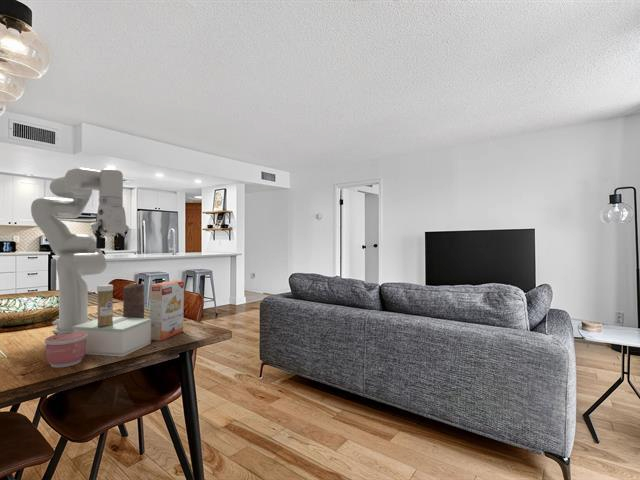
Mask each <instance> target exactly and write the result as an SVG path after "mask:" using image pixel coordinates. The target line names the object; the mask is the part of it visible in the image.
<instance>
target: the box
mask: <svg viewBox="0 0 640 480" xmlns="http://www.w3.org/2000/svg"><path fill="white" fill-rule="evenodd" d="M74 332H83V333H86V334H87V338H86V353H85V355H96V356H107V357H121V358H122V357H125V356H127V355H129V354H131V353H133V352H136V351H137V350H140V349H142V348H145V347H146V346H148V345H150V344H151V342H152V340H151V322H148V323H146V324H143V325H140V326H138V327H135V328H132V329H130V330H127V331H125V332H111V331H94V330H77V329H74Z"/></svg>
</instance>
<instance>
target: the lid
mask: <svg viewBox="0 0 640 480" xmlns="http://www.w3.org/2000/svg"><path fill="white" fill-rule="evenodd" d="M151 321H152V319H149V317H147V318H145V317H144V318H133V317H123V316H113V324H112V325H108V326H98V325H97V324H98V318H96V319H93V320H88V321H87V322H86V323H82V324H79V325H76V326H72V329H77V330H94V331H111V332H125V331H127V330H130V329H132V328H135V327H138V326H140V325H143V324H146V323H148V322H151Z"/></svg>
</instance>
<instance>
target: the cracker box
mask: <svg viewBox="0 0 640 480" xmlns="http://www.w3.org/2000/svg"><path fill="white" fill-rule="evenodd" d="M184 293H185V281H183V280H170V281H164V282H159V283H153V284H149V297H148V298H149V301H148V302H149V304H148V319H152V321H151V341H158V342H162V341H165V340H167V339H169V338H171V337H173V336H175V335H176V336H177V334H181V333H182V332H183V331H184V303H185V301H184V298H185V297H184V295H185V294H184Z"/></svg>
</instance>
